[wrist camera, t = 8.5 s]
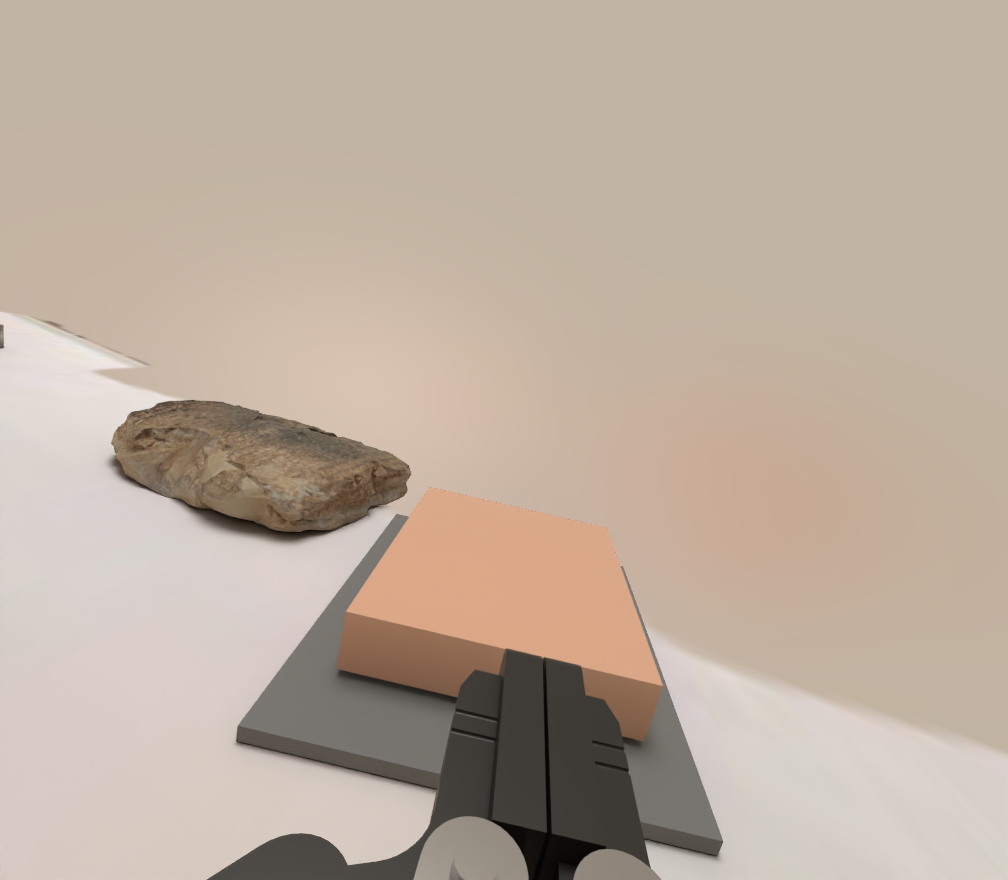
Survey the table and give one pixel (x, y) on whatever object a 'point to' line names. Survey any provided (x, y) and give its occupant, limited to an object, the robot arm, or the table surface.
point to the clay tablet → (256, 465)
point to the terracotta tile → (501, 604)
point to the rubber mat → (446, 725)
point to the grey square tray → (1, 337)
